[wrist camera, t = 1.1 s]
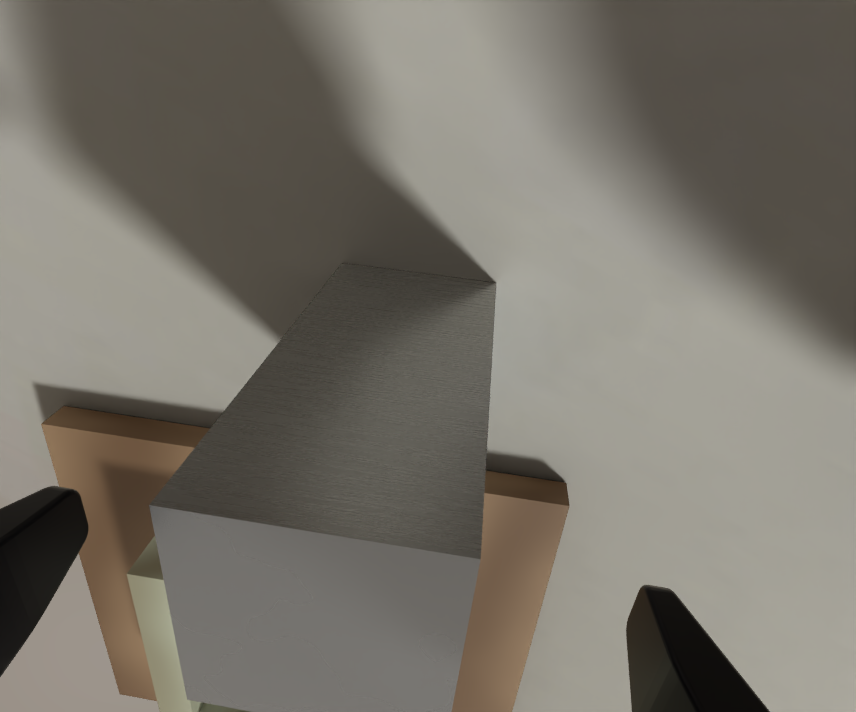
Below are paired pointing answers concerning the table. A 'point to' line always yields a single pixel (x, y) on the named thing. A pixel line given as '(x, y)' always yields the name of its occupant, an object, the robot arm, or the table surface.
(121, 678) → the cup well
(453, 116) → the table surface
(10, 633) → the robot arm
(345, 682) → the grey tall block
